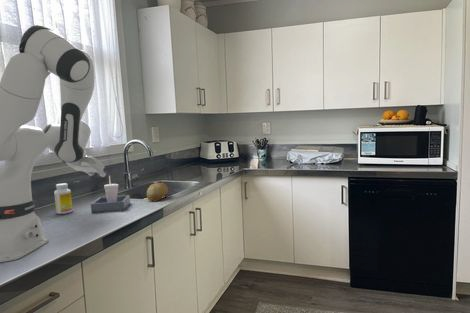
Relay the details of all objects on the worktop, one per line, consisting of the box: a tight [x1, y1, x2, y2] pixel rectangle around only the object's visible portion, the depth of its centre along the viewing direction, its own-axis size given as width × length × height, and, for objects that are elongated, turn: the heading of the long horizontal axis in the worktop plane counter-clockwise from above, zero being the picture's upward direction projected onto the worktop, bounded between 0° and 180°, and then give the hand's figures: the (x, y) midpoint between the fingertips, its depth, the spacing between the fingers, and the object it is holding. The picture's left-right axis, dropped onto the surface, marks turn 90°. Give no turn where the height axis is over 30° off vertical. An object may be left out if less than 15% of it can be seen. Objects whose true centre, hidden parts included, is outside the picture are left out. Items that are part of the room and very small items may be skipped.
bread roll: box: [146, 182, 169, 202], centre depth 175 cm, size 10×15×8 cm, turn 172°
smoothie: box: [103, 175, 120, 202], centre depth 159 cm, size 6×6×14 cm
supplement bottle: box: [53, 182, 74, 215], centre depth 155 cm, size 7×7×13 cm
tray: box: [90, 194, 131, 214], centre depth 159 cm, size 14×14×4 cm
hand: (98, 175), depth 155 cm, fingers open, 8 cm apart
